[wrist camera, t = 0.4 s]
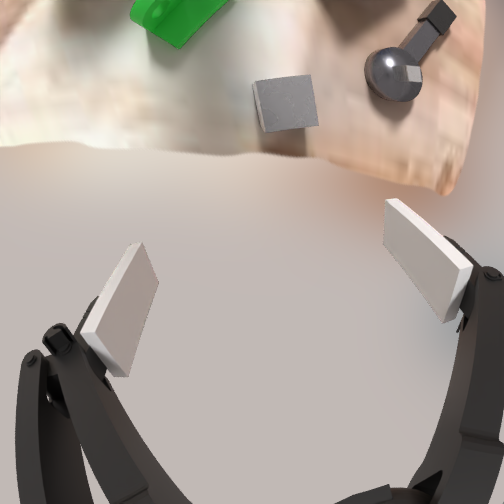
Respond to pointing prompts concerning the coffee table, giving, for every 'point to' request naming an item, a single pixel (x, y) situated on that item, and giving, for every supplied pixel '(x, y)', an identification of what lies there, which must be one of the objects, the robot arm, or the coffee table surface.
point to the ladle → (407, 56)
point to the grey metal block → (285, 103)
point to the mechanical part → (174, 17)
